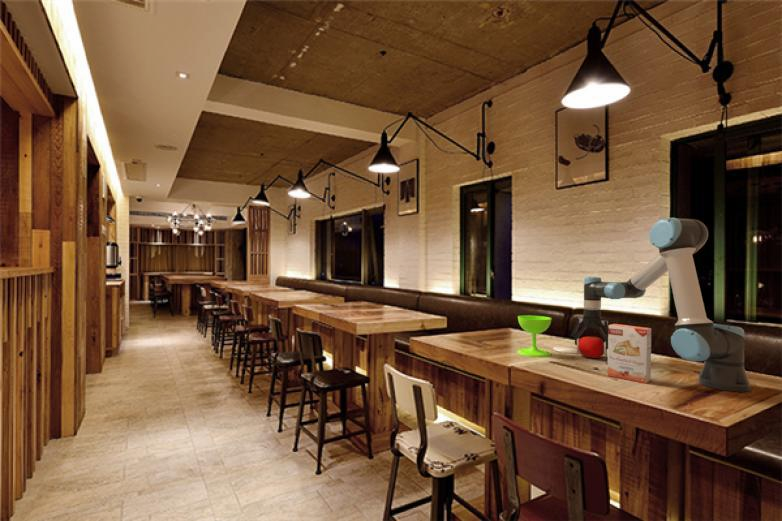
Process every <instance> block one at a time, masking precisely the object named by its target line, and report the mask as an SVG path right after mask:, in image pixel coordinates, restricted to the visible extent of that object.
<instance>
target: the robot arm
mask: <svg viewBox="0 0 782 521" xmlns="http://www.w3.org/2000/svg"><path fill="white" fill-rule="evenodd" d="M648 237H649V241H650V243H651V245H652V246H654V247H655V248H657V249H658V251H659V252H658V255H656V256H655V257H654V258H653V259H651V260H650V261H649V262H648V263H647V264H646V265H644V266H643V267H642V268H641V269H640V270H639V271H637V273H636V274H634V275H633V276H632V277H631V278H629V279H628V280H627V281H612V282H611V281H602V278H601V277H600V276H599V277H598V276H585V278H584V280H583V308H584V309H583V318H580V317H577V318H576V322H575V325H574V327H573V330H572V332H571V334H570V337H571V338H573V339H574V345H575V346H576V347H577V352H580V351H579V348H578V344H579V341H580V339H581V338H580V336H581V335H582V334H583V333H584V331H585V330H586V329H587V328H588V329H594V330H595V329H596V330H597V332H598V333H599V334H600V335H601V337H602V339H603V341H604V354H603V357H608V330H609V320H602V319H601V318H602V310H601V308H602V298H604V299H610V300H621V299H637V298H639V299H640V298H642V297H643V296H645V293H646V291H647V290H646V289H647V288H648V287H650V286H651V285H652V284H653V283H655V282H656V281H657V280H659V279H660V278H661V277H662V276H663V275H665V274H666V273H668V277H669V281H670V286H671V289H672V290H671V292H672V295H673V300H674V301H673V302H674V305H675V309H676V313H677V314H676V315H677V318H678V320H677V321H676V323H675V324H674V326H675V331H674V332H673V333H672V335H671V337H670V344H671V347H672V349H673V350H674V351H675V354H677V355H678V356H679V357H680V358H681V359H684V360H686V361H690V362H703V365H702V367H701V369H700V372H699V375H698V383H699V384H701V385H703V386H706V387H708V388H713V389H717V390H721V391H728V392H737V393H742V392H744V393H745V392H749V391H750V390H751V382H750V380H749V378H748V375H747V372H746V369H745V347H746V346H745V343H746V342H745V340H746V336H745V330H744V329H743V327H740V326H733V325H728V324H727V325H726V324H721V323H720V324H719V323H714V321H712V320H710V319H709V318H708V317H707V312H706V309H705V303H704V301H703V296H702V291H701V287H700V283H699V278H698V274H697V270H696V265H695V261H694V257H693V255H694V254H696V253H697V252H699V250H700V249H701V248H702V247H703V246H704V245H705V244H706V242H707V240H708V238H709V230H708V227H707V226H706V225H705V224H704V223H703V222H702V221H701V220H699V219H696V218H695V219H694V218H680V217H679V218H676V217H665V218H662V219H659V220H658V221H656V222H655V223H653V225H652V227H651V228H650V230H649V235H648ZM581 323H583V324H584V325H582V327H581V329H580V330H579V331H578V329H579V327H580V324H581ZM601 324H602V325H603V327H604V329H605V331H606V333H605V332H604V330H603V328H602V327H601ZM577 331H578V332H577Z"/></svg>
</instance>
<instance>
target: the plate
mask: <svg viewBox="0 0 782 521" xmlns="http://www.w3.org/2000/svg"><path fill="white" fill-rule="evenodd" d="M552 350H553V351H555V352H558V353H563V354H572V355H582V354H581V353H580V352H577V346H572V345H555V346H552Z"/></svg>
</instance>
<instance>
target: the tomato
mask: <svg viewBox="0 0 782 521" xmlns="http://www.w3.org/2000/svg"><path fill="white" fill-rule="evenodd" d="M604 342H605V340H604V339H603V338H601V337H598V336H594V335H590V336H589V335H588V336H583V337H581V338H580V341H579V344H578V348H579V351H580V353H581V354H580V355H582V356H584V357H586V358H592V359H598V358H599V359H600V358H601V357H603V356H604Z"/></svg>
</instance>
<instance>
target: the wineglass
mask: <svg viewBox="0 0 782 521" xmlns="http://www.w3.org/2000/svg"><path fill="white" fill-rule="evenodd" d="M517 320H518V324H519V326H520V327H521V328H522V330H524V331H525V332H527V333H529V334H531V335H532V336H531V346H530V347H529V348H528V347H523V348H519V349H518V350H517V354H519V355H521V356H525V357H531V358H548V357H551V356H552V353H551V352H549V351H548V350H545V349H541V348H538V347H537V335H539V334H542V333H543V332H546V331H547V330H548V328H550V326H551V323H552V317H549V316H542V315H517Z"/></svg>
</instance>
